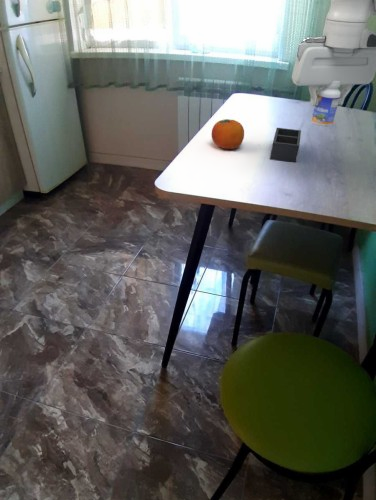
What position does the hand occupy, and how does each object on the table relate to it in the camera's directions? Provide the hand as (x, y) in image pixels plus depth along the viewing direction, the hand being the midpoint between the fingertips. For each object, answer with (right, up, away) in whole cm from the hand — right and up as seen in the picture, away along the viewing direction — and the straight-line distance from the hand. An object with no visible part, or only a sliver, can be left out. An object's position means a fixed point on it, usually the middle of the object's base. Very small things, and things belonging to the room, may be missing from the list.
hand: (326, 105), depth 101 cm
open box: (-3, +3, +33) cm, 33 cm away
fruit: (-21, +5, +35) cm, 41 cm away
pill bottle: (0, -3, +3) cm, 4 cm away
